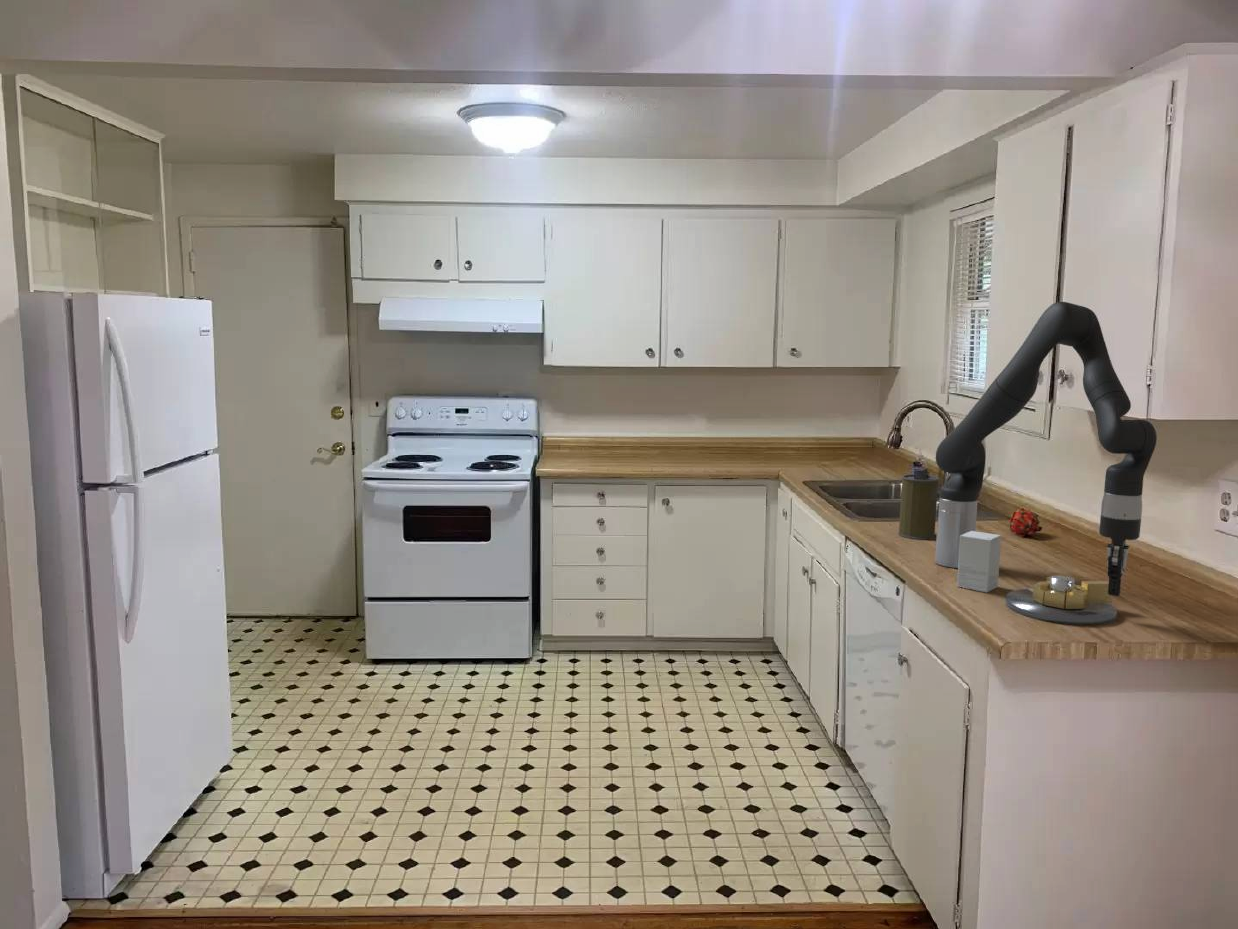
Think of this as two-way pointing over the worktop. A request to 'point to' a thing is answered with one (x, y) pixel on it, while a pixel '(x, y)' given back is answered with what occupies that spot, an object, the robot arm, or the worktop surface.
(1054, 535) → the worktop surface
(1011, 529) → the dragon fruit
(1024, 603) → the flange
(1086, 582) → the tan curved piece
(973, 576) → the supplement box
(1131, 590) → the worktop surface
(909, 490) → the canister
